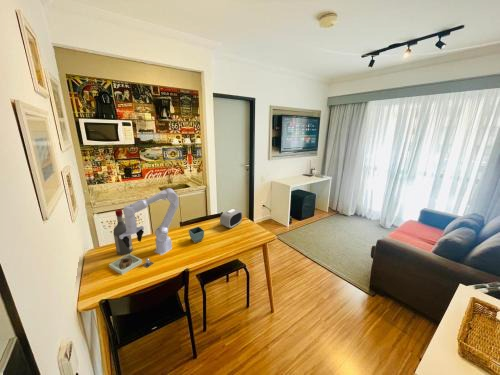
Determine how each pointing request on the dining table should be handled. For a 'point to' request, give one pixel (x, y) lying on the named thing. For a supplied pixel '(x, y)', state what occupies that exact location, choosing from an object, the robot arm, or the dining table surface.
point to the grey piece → (147, 263)
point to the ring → (125, 263)
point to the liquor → (119, 231)
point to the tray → (135, 262)
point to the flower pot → (196, 234)
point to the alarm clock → (231, 218)
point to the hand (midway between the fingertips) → (133, 244)
